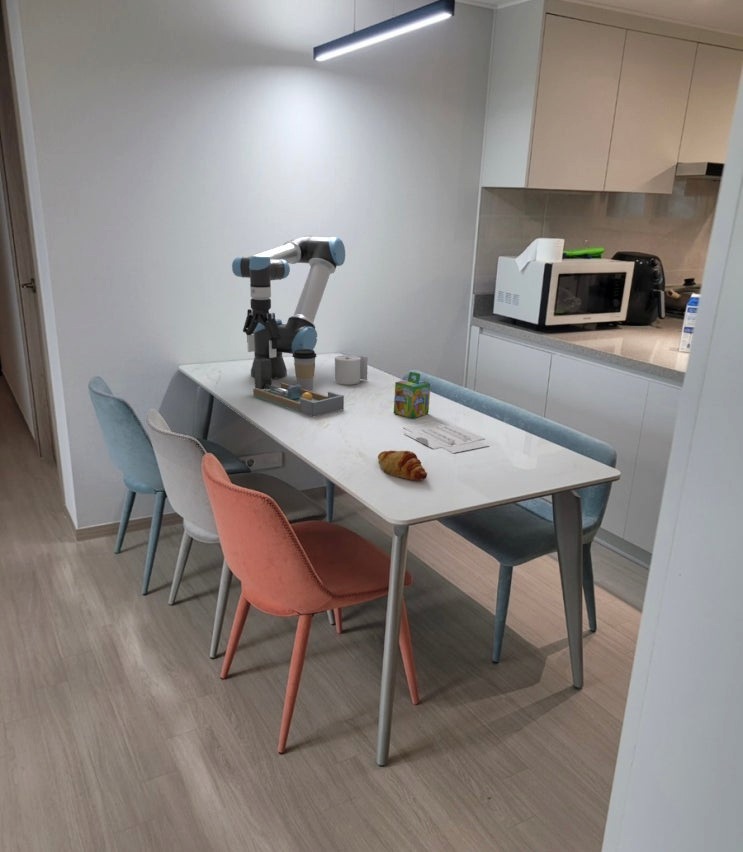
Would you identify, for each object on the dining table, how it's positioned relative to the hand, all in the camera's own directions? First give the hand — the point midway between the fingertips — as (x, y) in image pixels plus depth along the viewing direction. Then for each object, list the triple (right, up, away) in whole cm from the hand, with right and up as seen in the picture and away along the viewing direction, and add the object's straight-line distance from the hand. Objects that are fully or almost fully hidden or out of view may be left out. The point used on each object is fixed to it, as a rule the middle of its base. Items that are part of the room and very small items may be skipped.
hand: (261, 354), depth 270 cm
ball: (+18, -17, -13) cm, 28 cm away
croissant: (+50, -40, -72) cm, 97 cm away
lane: (+12, -18, -6) cm, 22 cm away
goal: (+24, -22, -18) cm, 37 cm away
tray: (+65, -32, -42) cm, 84 cm away
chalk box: (+56, -23, -19) cm, 63 cm away
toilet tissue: (+32, -9, +23) cm, 41 cm away
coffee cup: (+15, -13, +10) cm, 22 cm away
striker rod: (+6, -15, -2) cm, 16 cm away
